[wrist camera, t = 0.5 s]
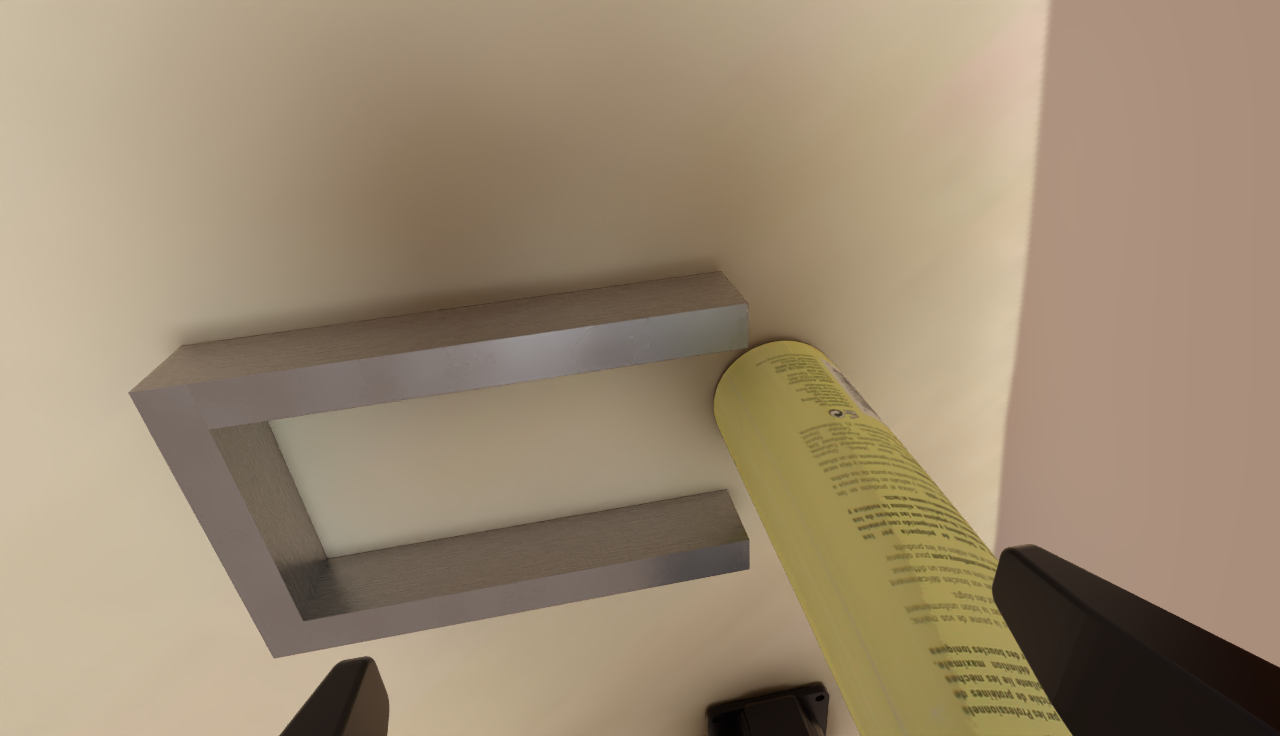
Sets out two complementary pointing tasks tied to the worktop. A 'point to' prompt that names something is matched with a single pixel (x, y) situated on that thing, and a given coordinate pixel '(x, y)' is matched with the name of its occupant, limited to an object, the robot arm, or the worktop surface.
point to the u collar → (413, 368)
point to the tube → (875, 555)
